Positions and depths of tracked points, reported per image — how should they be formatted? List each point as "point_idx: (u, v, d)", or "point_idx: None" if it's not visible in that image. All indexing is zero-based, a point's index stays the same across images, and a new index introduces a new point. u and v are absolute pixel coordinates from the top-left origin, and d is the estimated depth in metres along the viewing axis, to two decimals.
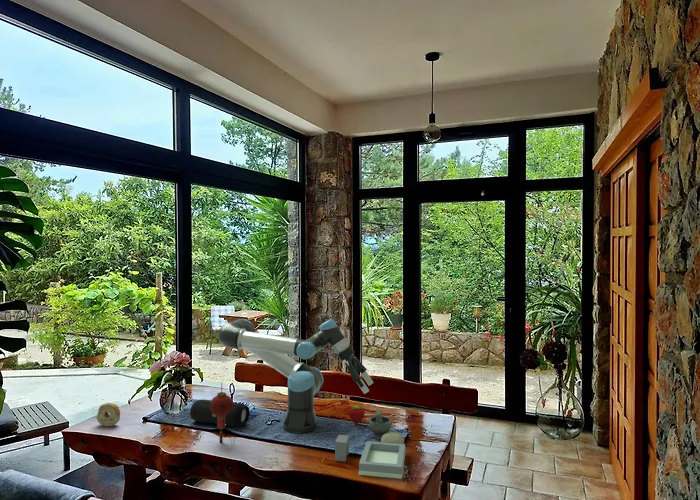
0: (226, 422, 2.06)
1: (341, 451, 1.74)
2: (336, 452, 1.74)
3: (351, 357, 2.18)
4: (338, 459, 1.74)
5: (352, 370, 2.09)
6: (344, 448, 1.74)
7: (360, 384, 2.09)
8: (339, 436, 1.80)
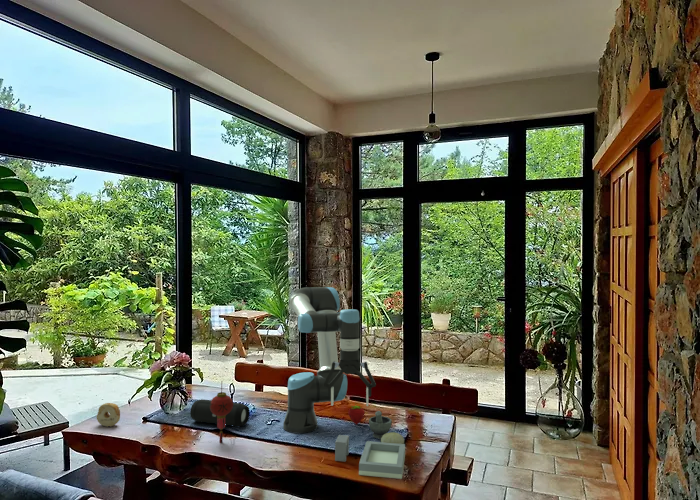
0: (226, 422, 2.06)
1: (342, 451, 1.74)
2: (336, 452, 1.74)
3: (349, 363, 1.80)
4: (338, 459, 1.74)
5: (328, 374, 1.81)
6: (344, 448, 1.74)
7: (328, 392, 1.81)
8: (339, 436, 1.80)
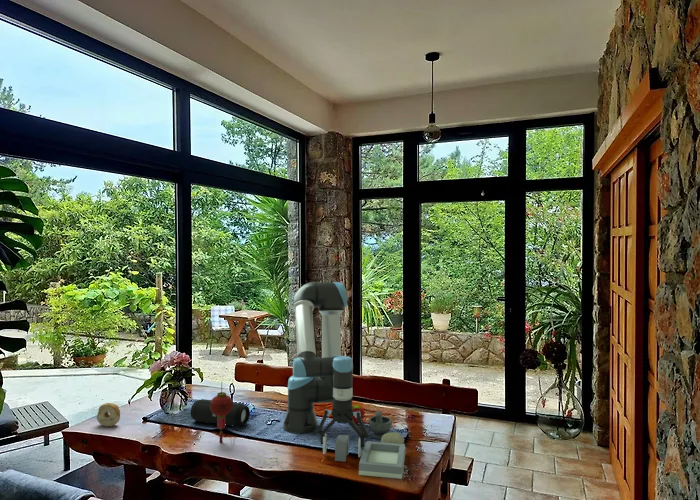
0: (226, 422, 2.06)
1: (341, 451, 1.74)
2: (336, 452, 1.74)
3: (342, 412, 1.77)
4: (338, 459, 1.74)
5: None
6: (344, 448, 1.74)
7: None
8: (339, 436, 1.80)
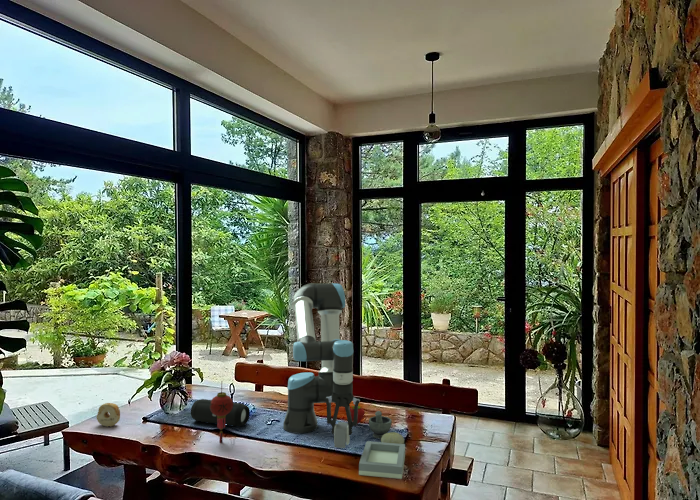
0: (226, 422, 2.06)
1: (341, 438, 1.75)
2: (336, 439, 1.75)
3: (342, 396, 1.77)
4: (337, 446, 1.75)
5: None
6: (344, 435, 1.74)
7: (332, 429, 1.79)
8: (339, 423, 1.80)
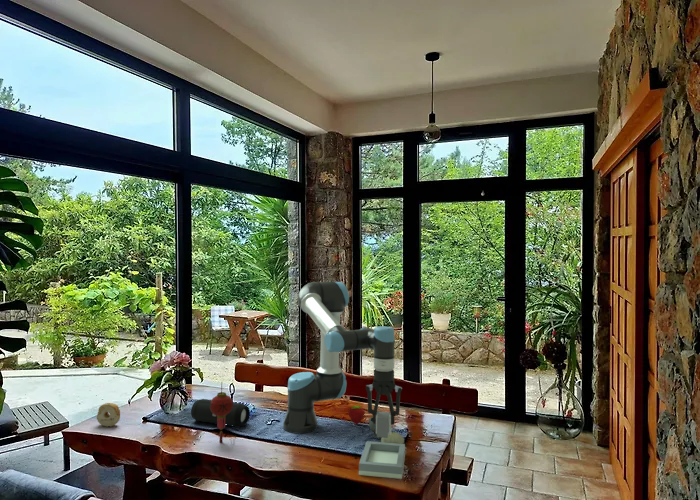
0: (225, 422, 2.06)
1: (384, 427, 1.68)
2: (378, 428, 1.69)
3: (383, 383, 1.71)
4: (380, 435, 1.68)
5: None
6: (386, 424, 1.68)
7: (373, 419, 1.73)
8: (380, 412, 1.74)
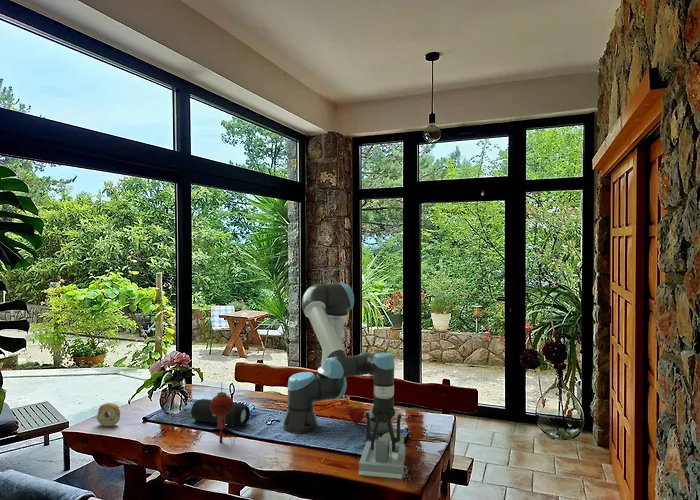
0: (225, 422, 2.06)
1: (383, 454, 1.68)
2: (377, 455, 1.68)
3: (383, 410, 1.71)
4: (379, 462, 1.68)
5: None
6: (386, 451, 1.68)
7: (371, 445, 1.73)
8: (379, 439, 1.74)
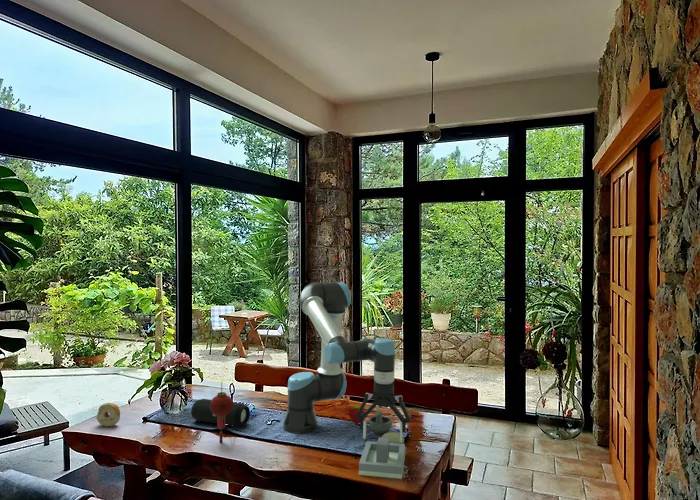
0: (225, 422, 2.06)
1: (383, 454, 1.68)
2: (377, 455, 1.68)
3: (383, 396, 1.71)
4: (379, 462, 1.68)
5: (361, 405, 1.73)
6: (386, 451, 1.68)
7: None
8: (379, 439, 1.74)
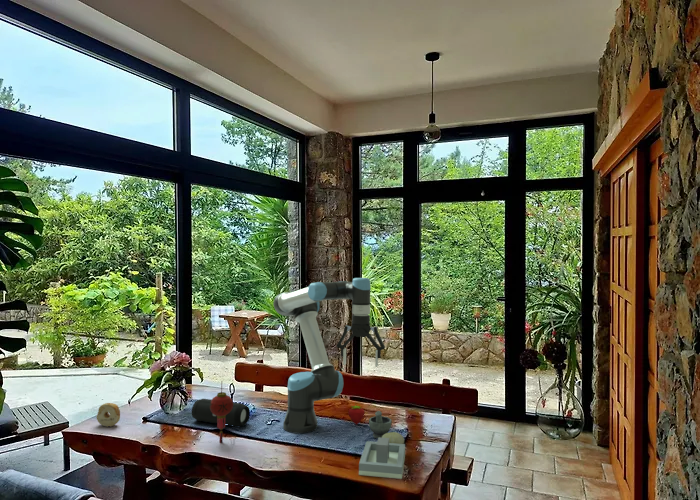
0: (225, 422, 2.06)
1: (383, 454, 1.68)
2: (377, 455, 1.68)
3: (360, 327, 1.95)
4: (379, 462, 1.68)
5: (341, 336, 1.97)
6: (386, 451, 1.68)
7: (341, 353, 1.97)
8: (379, 439, 1.74)
